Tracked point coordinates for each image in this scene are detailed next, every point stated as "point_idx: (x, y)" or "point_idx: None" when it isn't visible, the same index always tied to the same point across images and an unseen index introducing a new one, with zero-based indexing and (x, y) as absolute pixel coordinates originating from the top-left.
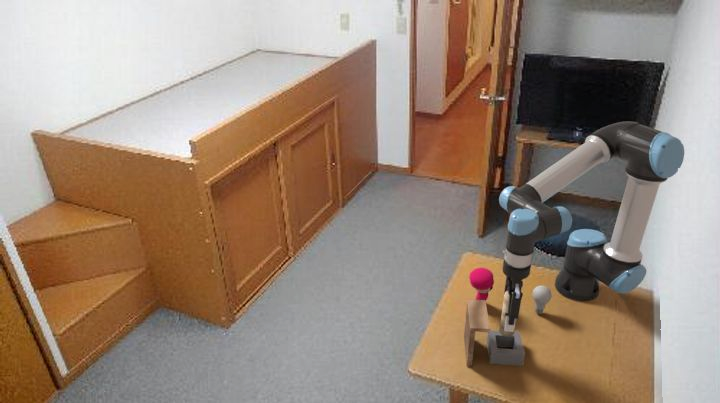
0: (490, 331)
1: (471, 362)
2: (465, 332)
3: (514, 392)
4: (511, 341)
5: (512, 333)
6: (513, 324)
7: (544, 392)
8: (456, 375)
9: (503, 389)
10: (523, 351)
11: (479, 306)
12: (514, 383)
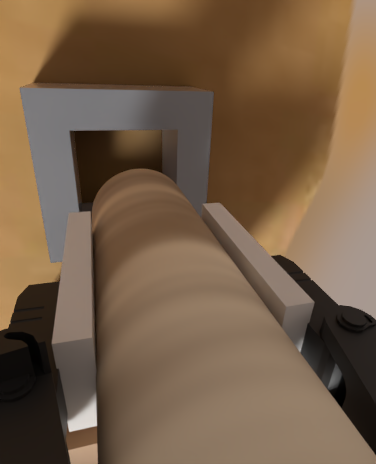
0: (56, 251)
1: None
2: None
3: (316, 143)
4: (72, 133)
5: (181, 191)
6: (292, 264)
7: (333, 16)
8: None
9: (300, 179)
10: (190, 93)
11: None
12: (279, 137)
